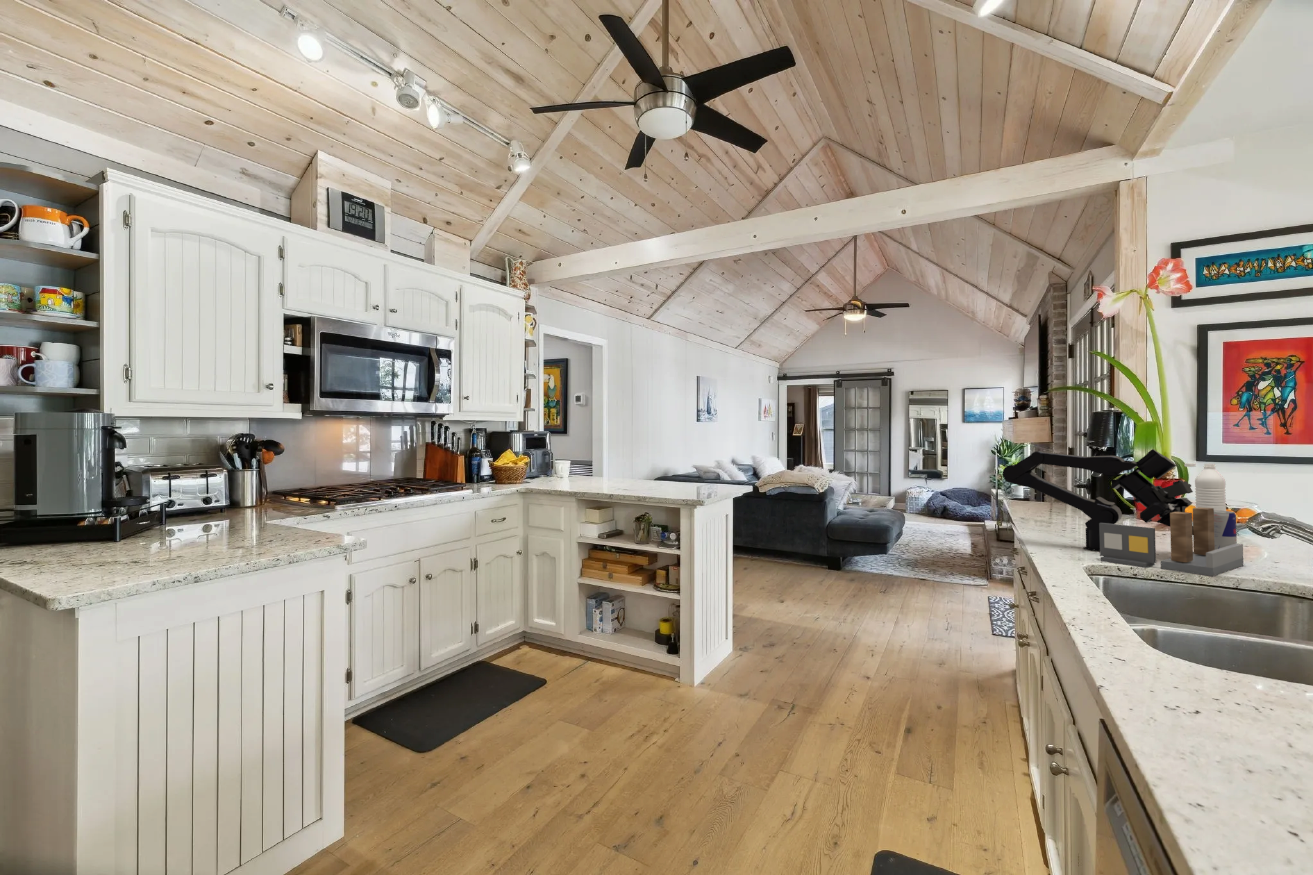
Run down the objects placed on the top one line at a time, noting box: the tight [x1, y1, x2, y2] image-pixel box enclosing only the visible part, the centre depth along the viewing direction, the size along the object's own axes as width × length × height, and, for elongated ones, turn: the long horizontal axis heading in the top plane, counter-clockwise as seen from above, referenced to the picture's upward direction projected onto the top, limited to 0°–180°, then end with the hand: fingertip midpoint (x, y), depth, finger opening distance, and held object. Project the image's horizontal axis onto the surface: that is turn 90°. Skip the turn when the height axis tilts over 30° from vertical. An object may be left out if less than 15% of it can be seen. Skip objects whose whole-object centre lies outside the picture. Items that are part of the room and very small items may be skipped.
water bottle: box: [1184, 462, 1227, 511], centre depth 170 cm, size 9×6×25 cm
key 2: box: [1192, 507, 1215, 555], centre depth 153 cm, size 3×4×12 cm
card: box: [1099, 523, 1157, 569], centre depth 154 cm, size 12×5×10 cm, turn 30°
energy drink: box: [1214, 510, 1238, 550], centre depth 161 cm, size 5×5×12 cm
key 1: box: [1169, 511, 1194, 563], centre depth 146 cm, size 3×4×12 cm
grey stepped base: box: [1160, 543, 1244, 577], centre depth 148 cm, size 10×20×6 cm, turn 120°
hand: (1195, 534), depth 154 cm, fingers closed
